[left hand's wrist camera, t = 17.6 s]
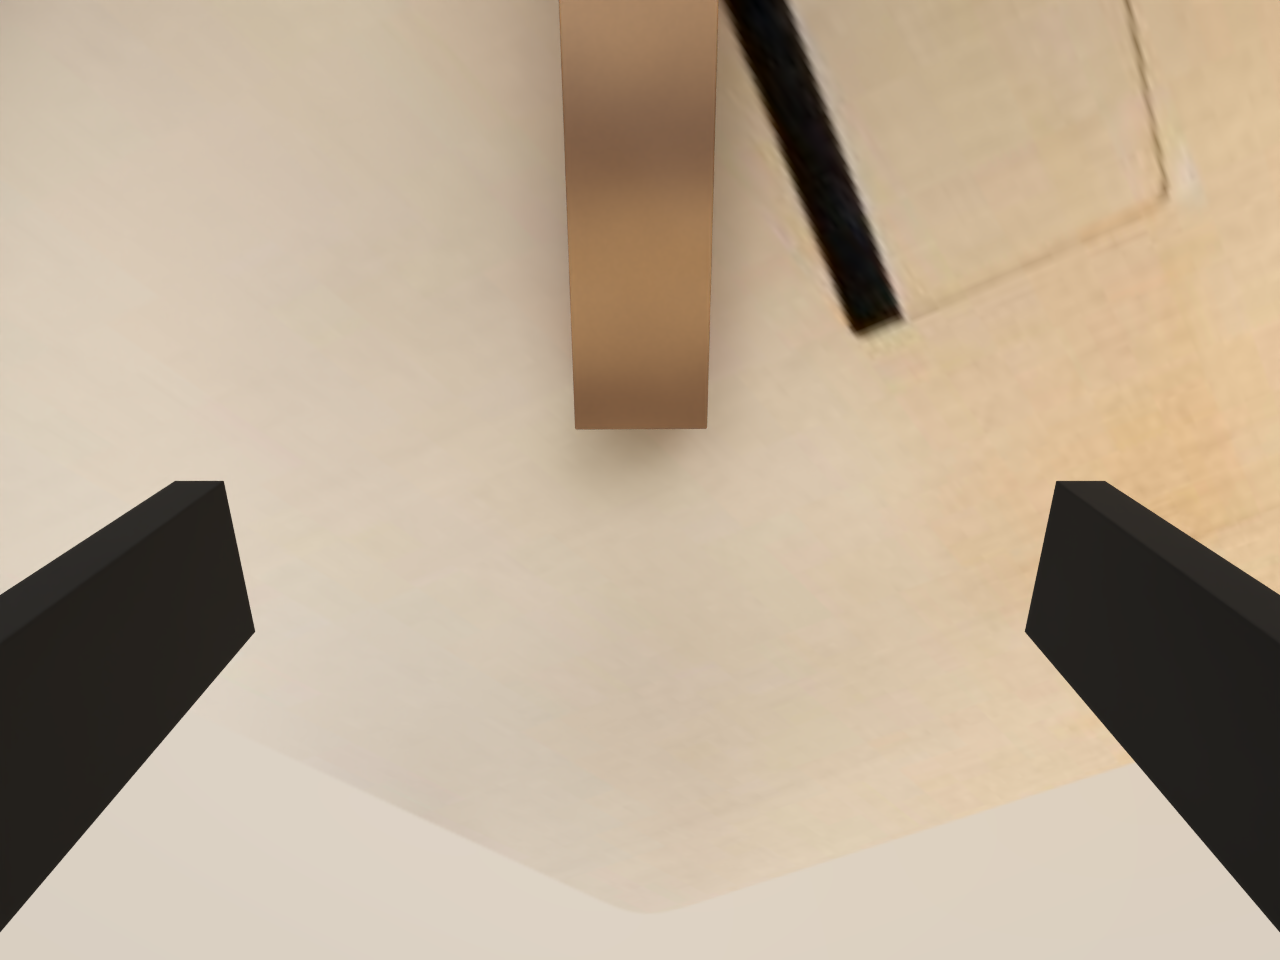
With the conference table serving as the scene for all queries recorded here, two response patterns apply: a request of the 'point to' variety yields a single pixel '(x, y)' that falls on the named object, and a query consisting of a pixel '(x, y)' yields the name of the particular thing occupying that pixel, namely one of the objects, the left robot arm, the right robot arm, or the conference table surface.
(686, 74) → the bar
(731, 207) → the conference table surface
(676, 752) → the conference table surface
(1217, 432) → the conference table surface
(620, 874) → the conference table surface
